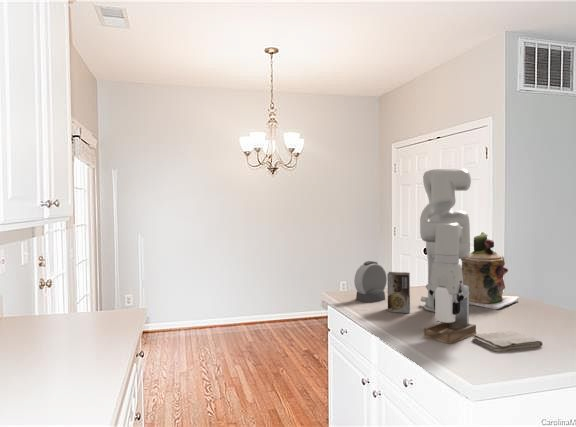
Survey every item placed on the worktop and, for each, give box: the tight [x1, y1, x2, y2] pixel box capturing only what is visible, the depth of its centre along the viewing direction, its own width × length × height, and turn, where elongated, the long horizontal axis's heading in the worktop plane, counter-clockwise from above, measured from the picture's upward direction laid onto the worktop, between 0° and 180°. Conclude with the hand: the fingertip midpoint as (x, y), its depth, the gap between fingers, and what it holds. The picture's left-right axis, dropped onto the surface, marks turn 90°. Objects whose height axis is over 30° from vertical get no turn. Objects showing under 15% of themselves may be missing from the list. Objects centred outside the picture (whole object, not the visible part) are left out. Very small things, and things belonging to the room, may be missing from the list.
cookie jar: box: [460, 231, 520, 310], centre depth 192 cm, size 25×25×32 cm
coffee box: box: [386, 271, 411, 314], centre depth 176 cm, size 9×6×16 cm
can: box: [434, 286, 455, 323], centre depth 141 cm, size 6×6×12 cm
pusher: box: [449, 285, 470, 330], centre depth 147 cm, size 7×1×16 cm, turn 39°
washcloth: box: [471, 330, 543, 352], centre depth 134 cm, size 12×18×3 cm, turn 106°
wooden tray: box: [423, 322, 477, 345], centre depth 143 cm, size 10×17×3 cm, turn 129°
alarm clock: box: [354, 260, 388, 304], centre depth 196 cm, size 16×10×18 cm, turn 120°
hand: (446, 311), depth 141 cm, fingers closed on can, 6 cm apart
